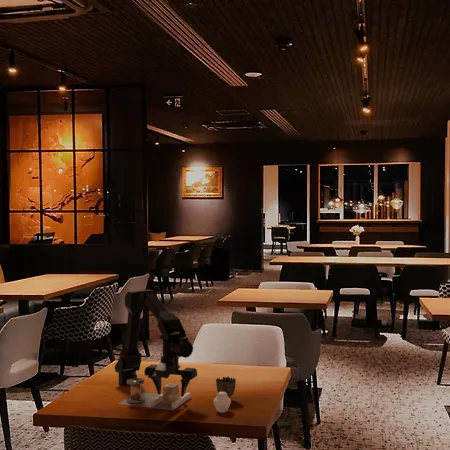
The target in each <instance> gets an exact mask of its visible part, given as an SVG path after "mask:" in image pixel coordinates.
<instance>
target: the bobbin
mask: <svg viewBox="0 0 450 450" xmlns="http://www.w3.org/2000/svg"><path fill="white" fill-rule="evenodd" d="M127 384H129V385H128V386H130V396H129V397H128V398H126V399H127V402H128V403H130V404H139V403H143V402H144V401H145V398H144V397H141V392H142V388H141V386H142V385H143V384H145V378H140V377H137V378H132V379H128V380H127Z"/></svg>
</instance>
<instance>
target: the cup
mask: <svg viewBox="0 0 450 450" xmlns="http://www.w3.org/2000/svg"><path fill="white" fill-rule="evenodd" d="M236 383H237V379H236V378H234V377H230V376H226V377H225V376H223V377H222V378H220V377H218V378H215V384H216V385H215V386H216V390H217V394H218V393H219V392H226V393H227V396H228V398H230V400H231V399H232V396H233V395H234V394H235V391H236ZM231 401H232V400H231Z"/></svg>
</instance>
